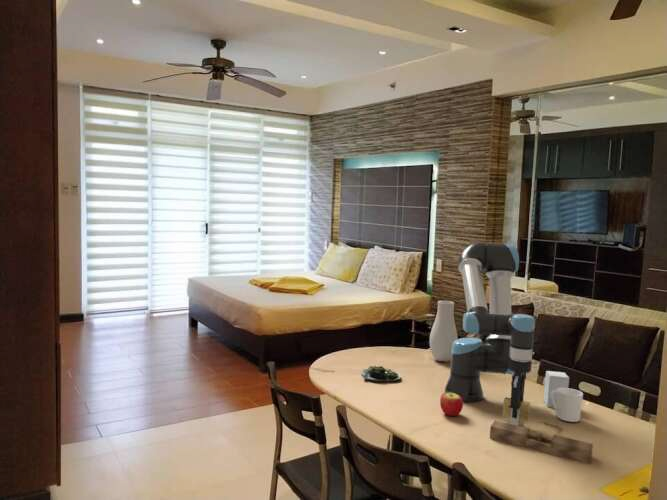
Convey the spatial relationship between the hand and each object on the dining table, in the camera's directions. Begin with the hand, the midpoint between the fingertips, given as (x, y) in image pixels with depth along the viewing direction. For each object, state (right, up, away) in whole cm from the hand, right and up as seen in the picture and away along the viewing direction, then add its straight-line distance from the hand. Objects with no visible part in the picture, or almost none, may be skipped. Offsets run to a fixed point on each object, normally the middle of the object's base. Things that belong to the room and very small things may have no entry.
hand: (515, 424), depth 183 cm
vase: (-9, +5, +79) cm, 80 cm away
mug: (+22, -1, +9) cm, 24 cm away
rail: (+2, -2, -16) cm, 16 cm away
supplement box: (+24, 0, +23) cm, 33 cm away
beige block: (0, -1, 0) cm, 1 cm away
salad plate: (-43, +4, +47) cm, 64 cm away
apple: (-21, +1, +8) cm, 22 cm away
